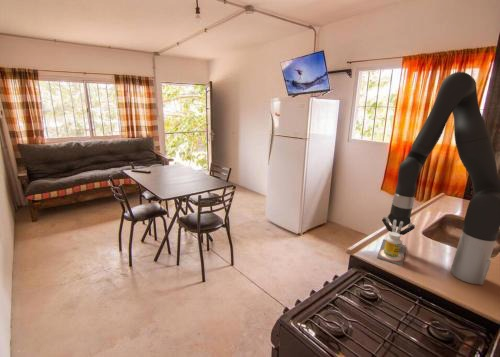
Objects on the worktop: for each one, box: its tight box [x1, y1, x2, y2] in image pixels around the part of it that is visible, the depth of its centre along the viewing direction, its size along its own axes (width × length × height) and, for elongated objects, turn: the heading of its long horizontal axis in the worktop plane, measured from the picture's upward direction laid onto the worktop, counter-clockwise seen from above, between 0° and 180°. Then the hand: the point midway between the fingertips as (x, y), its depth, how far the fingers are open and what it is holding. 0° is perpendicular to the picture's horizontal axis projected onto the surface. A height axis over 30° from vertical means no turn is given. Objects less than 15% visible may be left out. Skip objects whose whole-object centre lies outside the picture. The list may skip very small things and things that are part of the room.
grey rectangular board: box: [376, 238, 406, 267], centre depth 110 cm, size 9×18×3 cm, turn 146°
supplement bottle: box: [384, 231, 402, 258], centre depth 105 cm, size 5×5×10 cm
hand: (394, 241), depth 113 cm, fingers closed
